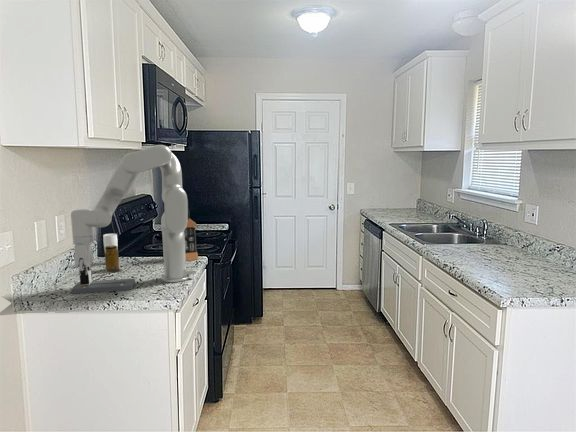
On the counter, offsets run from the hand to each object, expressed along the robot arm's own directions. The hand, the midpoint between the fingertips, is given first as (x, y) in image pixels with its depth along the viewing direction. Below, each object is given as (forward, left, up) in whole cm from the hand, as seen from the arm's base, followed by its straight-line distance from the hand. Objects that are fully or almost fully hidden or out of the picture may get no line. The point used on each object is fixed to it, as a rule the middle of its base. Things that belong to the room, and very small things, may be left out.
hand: (86, 281), depth 174 cm
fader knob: (0, 0, -1) cm, 1 cm away
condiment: (-5, -28, -3) cm, 29 cm away
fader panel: (-7, 0, -3) cm, 8 cm away
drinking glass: (-1, -43, -3) cm, 44 cm away
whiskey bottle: (-39, -44, -3) cm, 60 cm away
